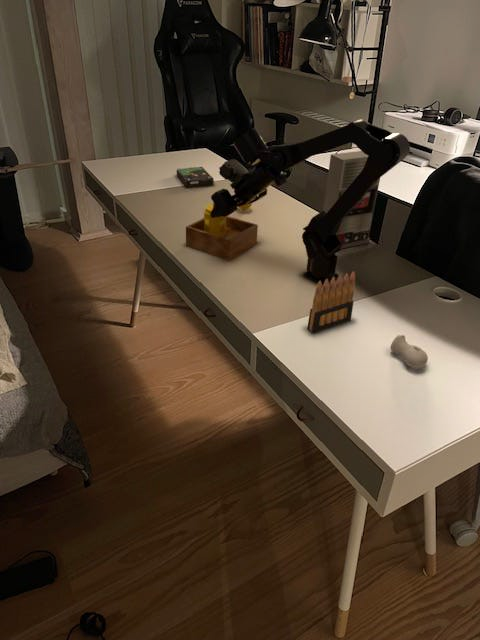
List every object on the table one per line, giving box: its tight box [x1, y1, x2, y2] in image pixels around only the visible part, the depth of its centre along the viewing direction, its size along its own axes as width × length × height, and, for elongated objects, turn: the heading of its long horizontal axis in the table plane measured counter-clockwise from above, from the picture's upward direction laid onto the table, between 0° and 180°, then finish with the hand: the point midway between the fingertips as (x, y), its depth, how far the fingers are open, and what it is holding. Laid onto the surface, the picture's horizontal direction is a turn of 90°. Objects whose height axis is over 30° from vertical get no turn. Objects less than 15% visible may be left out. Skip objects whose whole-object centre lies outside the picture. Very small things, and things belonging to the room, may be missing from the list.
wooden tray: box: [185, 215, 259, 261], centre depth 139 cm, size 15×14×6 cm
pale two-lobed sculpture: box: [390, 334, 429, 370], centre depth 98 cm, size 4×8×5 cm
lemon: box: [237, 203, 253, 212], centre depth 160 cm, size 6×6×8 cm
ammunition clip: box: [306, 270, 356, 334], centre depth 105 cm, size 11×2×12 cm, turn 121°
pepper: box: [203, 201, 226, 237], centre depth 138 cm, size 6×6×9 cm
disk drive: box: [175, 166, 215, 188], centre depth 185 cm, size 10×3×15 cm
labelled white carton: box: [322, 150, 381, 249], centre depth 137 cm, size 14×6×25 cm, turn 117°
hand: (221, 211), depth 135 cm, fingers open, 9 cm apart
